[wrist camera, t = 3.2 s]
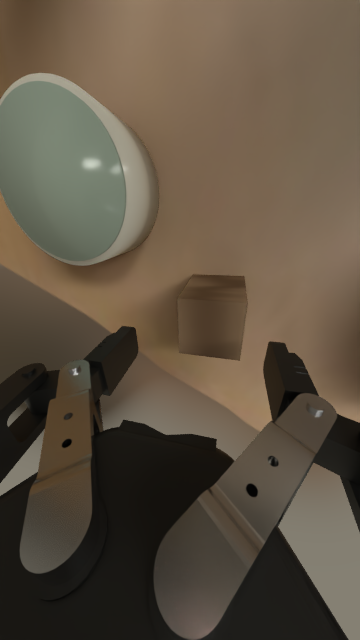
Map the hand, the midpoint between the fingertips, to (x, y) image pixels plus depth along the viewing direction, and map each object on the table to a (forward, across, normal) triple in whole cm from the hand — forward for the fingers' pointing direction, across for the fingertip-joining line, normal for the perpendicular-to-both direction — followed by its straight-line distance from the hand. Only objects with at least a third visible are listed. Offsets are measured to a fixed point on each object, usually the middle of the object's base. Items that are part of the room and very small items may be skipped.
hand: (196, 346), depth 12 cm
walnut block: (+8, -1, 0) cm, 8 cm away
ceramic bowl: (+8, +10, -9) cm, 15 cm away
